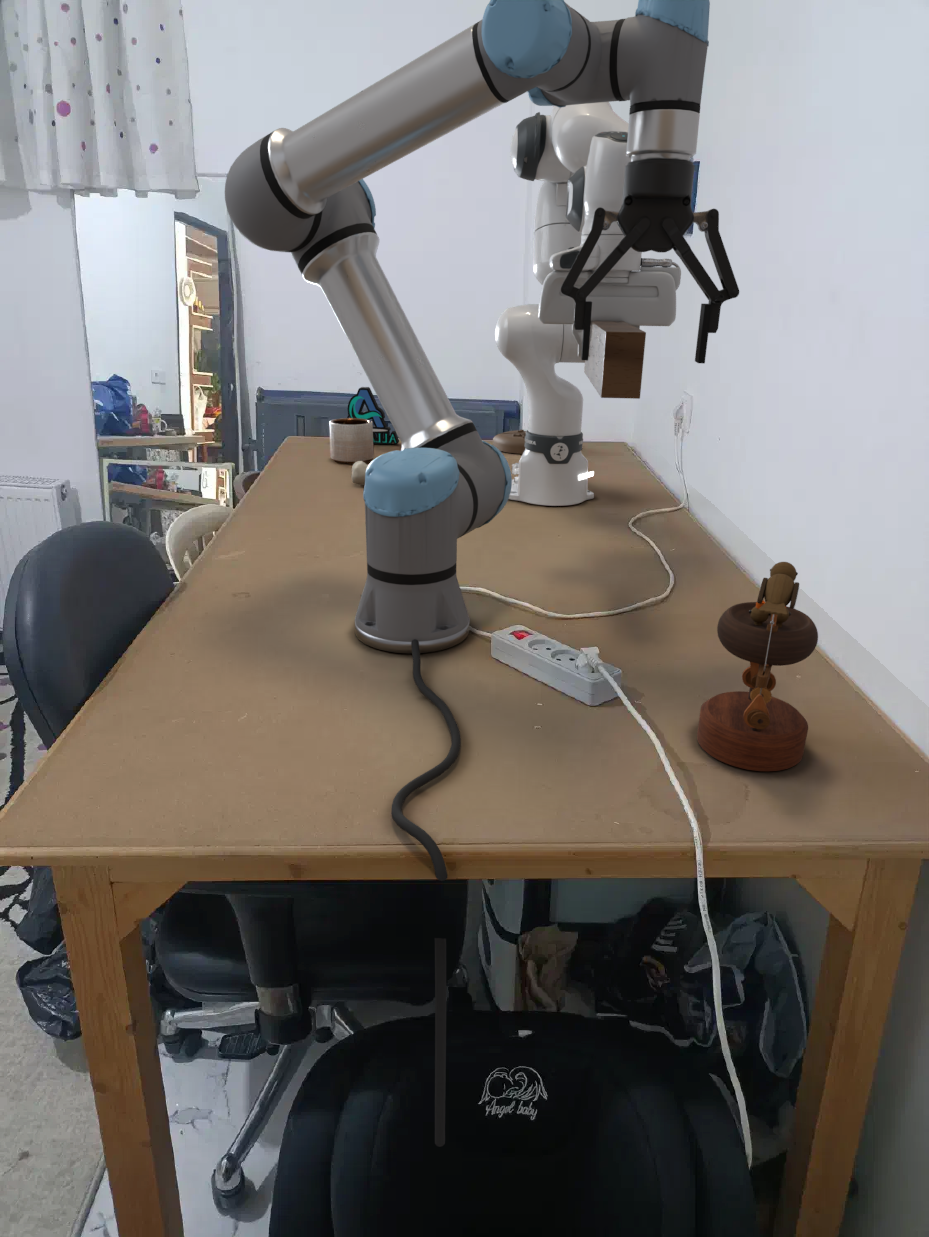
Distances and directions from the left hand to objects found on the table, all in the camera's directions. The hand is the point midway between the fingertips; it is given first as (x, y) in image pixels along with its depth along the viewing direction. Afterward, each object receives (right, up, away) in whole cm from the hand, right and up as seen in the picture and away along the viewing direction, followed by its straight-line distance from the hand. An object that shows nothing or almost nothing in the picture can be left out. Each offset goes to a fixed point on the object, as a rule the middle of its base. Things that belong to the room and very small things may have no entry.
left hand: (641, 361), depth 101 cm
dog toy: (-37, 0, +90) cm, 97 cm away
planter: (-50, +9, +113) cm, 124 cm away
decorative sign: (-49, +18, +134) cm, 144 cm away
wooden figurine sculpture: (+8, -44, -13) cm, 46 cm away
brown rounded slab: (-3, +13, +125) cm, 126 cm away
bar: (-1, +2, +18) cm, 19 cm away
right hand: (0, +9, +27) cm, 28 cm away
